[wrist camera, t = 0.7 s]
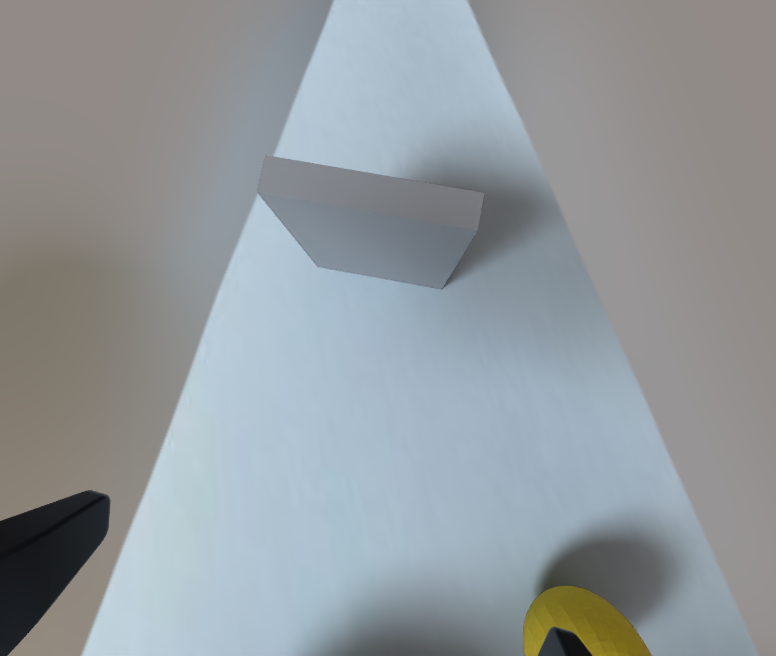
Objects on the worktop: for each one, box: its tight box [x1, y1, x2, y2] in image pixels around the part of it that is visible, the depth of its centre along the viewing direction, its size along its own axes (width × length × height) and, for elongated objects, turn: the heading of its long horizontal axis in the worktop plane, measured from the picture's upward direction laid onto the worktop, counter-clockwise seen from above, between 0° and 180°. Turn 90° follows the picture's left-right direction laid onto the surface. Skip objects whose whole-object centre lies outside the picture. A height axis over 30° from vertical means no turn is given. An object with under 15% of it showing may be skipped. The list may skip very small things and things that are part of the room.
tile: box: [257, 155, 484, 289], centre depth 20 cm, size 2×8×11 cm, turn 79°
